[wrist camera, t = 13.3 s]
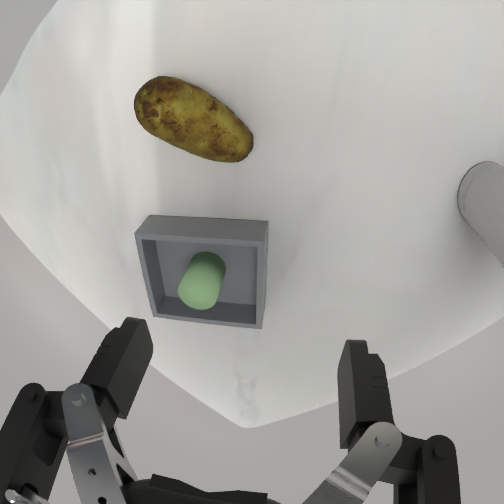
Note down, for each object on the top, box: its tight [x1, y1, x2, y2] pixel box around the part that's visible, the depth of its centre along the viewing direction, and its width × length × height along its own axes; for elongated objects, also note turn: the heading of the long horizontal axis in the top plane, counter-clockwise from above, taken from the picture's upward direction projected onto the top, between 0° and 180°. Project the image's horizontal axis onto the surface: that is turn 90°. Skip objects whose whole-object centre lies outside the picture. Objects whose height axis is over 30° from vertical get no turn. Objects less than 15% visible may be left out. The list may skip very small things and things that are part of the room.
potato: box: [134, 76, 253, 162], centre depth 31 cm, size 8×13×8 cm, turn 35°
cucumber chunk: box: [178, 251, 226, 310], centre depth 42 cm, size 5×5×6 cm
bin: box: [134, 215, 268, 329], centre depth 43 cm, size 16×14×5 cm
